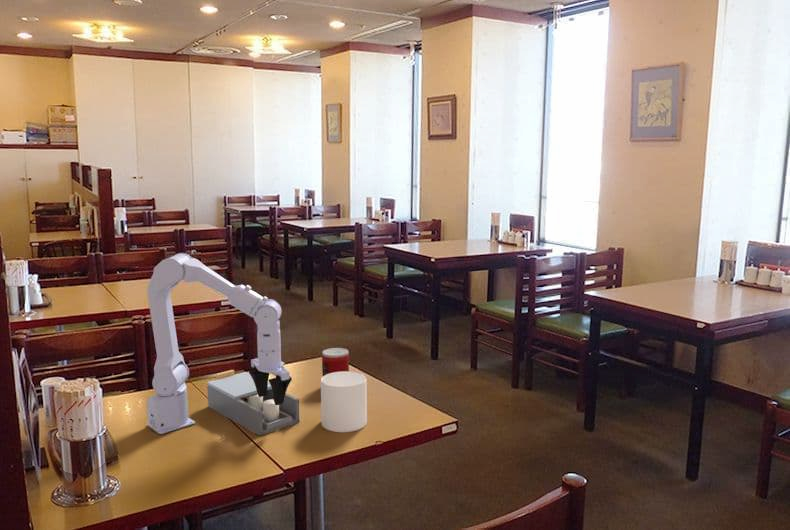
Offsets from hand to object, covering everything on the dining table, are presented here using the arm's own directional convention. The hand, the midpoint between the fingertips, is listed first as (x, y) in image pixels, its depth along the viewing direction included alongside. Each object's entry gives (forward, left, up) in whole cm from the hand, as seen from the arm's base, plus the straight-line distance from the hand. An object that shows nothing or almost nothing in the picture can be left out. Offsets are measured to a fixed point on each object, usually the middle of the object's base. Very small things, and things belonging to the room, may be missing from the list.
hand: (270, 399), depth 162 cm
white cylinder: (+14, -12, -7) cm, 20 cm away
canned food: (+29, +10, -7) cm, 31 cm away
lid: (0, +15, 0) cm, 15 cm away
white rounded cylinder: (0, 0, -6) cm, 6 cm away
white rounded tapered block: (0, +7, -7) cm, 10 cm away
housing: (0, +9, -7) cm, 11 cm away
